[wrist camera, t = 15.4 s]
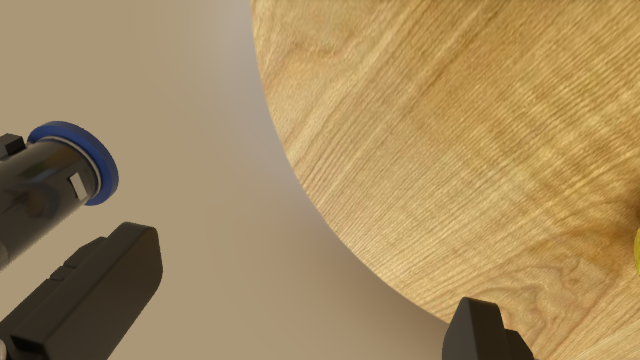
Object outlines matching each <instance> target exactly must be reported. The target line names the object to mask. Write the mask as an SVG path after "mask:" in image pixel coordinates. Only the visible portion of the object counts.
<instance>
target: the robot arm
mask: <svg viewBox="0 0 640 360" xmlns="http://www.w3.org/2000/svg"><path fill="white" fill-rule="evenodd" d="M102 186H103V177H102V173H101V170H100V168H99V166H98V164H97V162H96V161H95V159H94V158H93V157H92V156H91V155H90V153H89V152H88V151H87V150H85V149H84V148H83V147H82V146H81V145H79V144H78V143H76V142H75V141H73V140H71V139H68V138H66V137H63V136H59V135H48V136H45V137H43V138H41V139H39V140H37V141H34V140H32V141H30V142H28V143H26V144H24V141H23V138H22V136H17V135H13V134H8V133H7V134H5V135H3V136H1V137H0V272H1V271H3V270H4V269H5V268H6V267H7V266H9V265H10V264H11V263H12V262H13V261H15V260H16V259H17V258H18V257H20V256H21V255H22V254H23V253H25V252H26V251H27V250H28V249H30V248H31V247H32V246H33V245H34V244H36V243H37V242H38V241H39V240H41V239H42V238H43V237H44V236H45V235H47V234H48V233H49V232H50V231H52V230H53V229H54V228H55V227H57V226H58V225H59V224H60V223H62V222H63V221H64V220H65V219H66V218H68V217H69V216H70V215H71V214H73V213H74V212H75V211H76V210H78V209H79V208H80V207H81V206H82V205H84V204H85V203H86V202H87V201H89V200H90V199H92V198H94V197H95V196H96V195H97V194H98V193H99V192H100V191H101V189H102ZM162 273H163V266H162V260H161V253H160V246H159V239H158V233H157V230H156V229H155V228H154V227H150V226H145V225H140V224H136V223H131V222H124V223H122V224H121V225H119V226H118V227H117V229H115V230H114V231H113V232H112V233H111V234H110V235H109V236H108V237H107V238H105V237H99V238H97V239H95V240H93V241H92V242H90V243H88V244H86V245H84V246H82V247H80V248H79V249H78V250H77V251H76V252H75V253H74V254H73V255H72V256H70V257H69V259H67V260H66V261H65V262H64V264H63V266H60V267H59V268H58V269H57V270H56V271H55V272H53V273H52V274H51V275H50V278H49V279H46V280H45V281H44V282H43V283H42V284H41V285H40V286H39V287H37V288H36V289H35V290H34V291H33V292H32V293H31V294H30V295H29V296H28V297H27V298H26V299H25V300H23V301H22V302H21V303H20V304H19V305H18V306H17V307H16V308H15V309H14V310H13V311H12V312H11V313H10V314H9V315H7V316H6V318H4V319H3V320H2V321H1V322H0V360H107V359H108V357H109V356H110V355H111V353H112V352H113V350H114V349H115V348H116V346H117V345H118V343H119V342H120V341H121V339H122V338H123V337H124V335H125V334H126V332H127V331H128V329H129V328H130V327H131V325H132V324H133V323H134V321H135V320H136V318H137V317H138V315H139V314H140V313H141V311H142V310H143V309H144V307H145V306H146V305H147V303H148V302H149V300H150V299H151V298H152V296H153V295H154V293H155V292H156V290H157V289H158V287H159V284H160V282H161V279H162ZM442 360H534V357H533V353H532V352H531V350H530V349H529V347H528V346H527V345H526V343H525V342H524V340H523V339H522V337H521V336H520V335H519V333H518V332H517V331H513V330H509V329H505V328H504V325H503V321H502V317H501V313H500V309H499V307H498V305H497V304H496V303H491V302H487V301H482V300H478V299H473V298H468V297H463V298H462V299H461V301H460V303H459V305H458V307H457V310H456V312H455V314H454V316H453V319H452V321H451V323H450V325H449V328H448V330H447V332H446V335H445V338H444V342H443V348H442Z"/></svg>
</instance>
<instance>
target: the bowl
mask: <svg viewBox="0 0 640 360" xmlns="http://www.w3.org/2000/svg"><path fill="white" fill-rule="evenodd" d="M634 261H635V264H636V269H637V272H638V274H639V276H640V227H639V229H638V231H637V234H636V237H635V242H634Z"/></svg>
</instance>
